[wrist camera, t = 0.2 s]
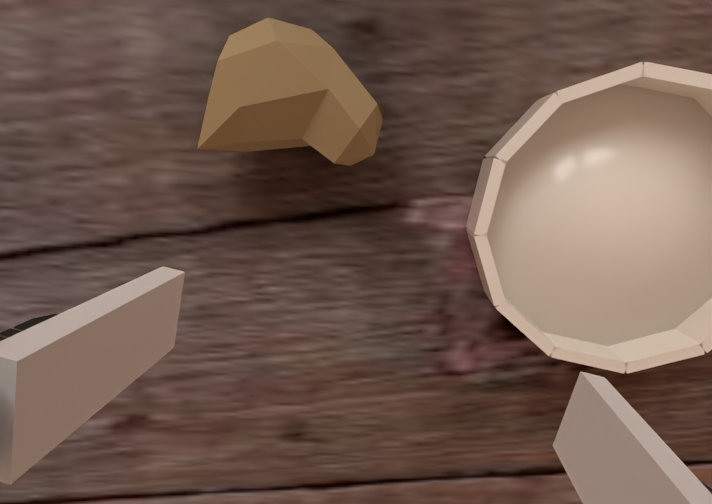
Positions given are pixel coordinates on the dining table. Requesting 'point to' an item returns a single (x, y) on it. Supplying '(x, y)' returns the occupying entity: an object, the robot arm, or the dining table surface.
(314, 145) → the low-poly potato
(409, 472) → the dining table surface
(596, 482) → the robot arm
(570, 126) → the cream bowl
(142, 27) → the dining table surface
